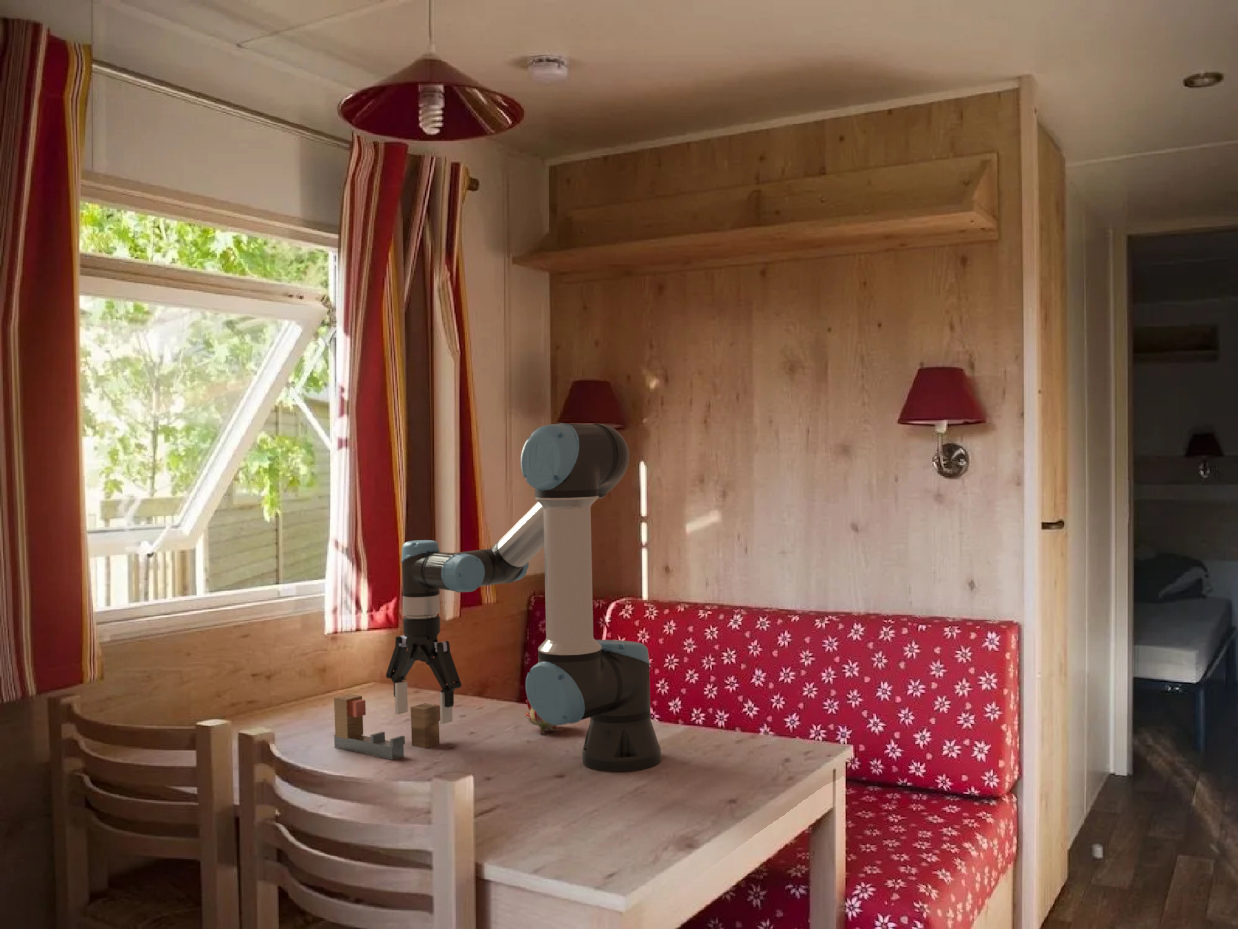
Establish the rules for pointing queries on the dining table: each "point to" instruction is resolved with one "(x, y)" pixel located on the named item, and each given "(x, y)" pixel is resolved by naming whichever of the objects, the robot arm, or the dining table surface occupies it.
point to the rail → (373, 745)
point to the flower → (538, 720)
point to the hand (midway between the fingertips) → (423, 717)
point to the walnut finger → (425, 725)
